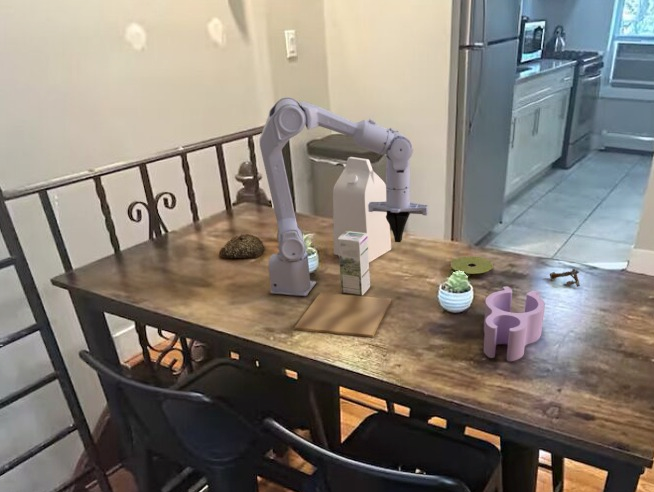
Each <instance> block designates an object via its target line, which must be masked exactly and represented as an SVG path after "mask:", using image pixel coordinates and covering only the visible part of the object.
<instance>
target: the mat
mask: <svg viewBox="0 0 654 492" xmlns="http://www.w3.org/2000/svg"><path fill="white" fill-rule="evenodd" d="M450 268H451V269H453V270H454V271H456V270H460V271H464V272H466V273H465V274H468V275H469V274H471V275H472V274H473V275H475V274H483V273H487V272H489V271H491V270H492V269H493V268H494V264H493V262H492V261H491V260H489V259H487V258H484V257H480V256H462V257H457V258H455V259H453V260H452V261H451V262H450Z"/></svg>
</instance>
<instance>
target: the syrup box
mask: <svg viewBox="0 0 654 492" xmlns="http://www.w3.org/2000/svg"><path fill="white" fill-rule="evenodd" d="M338 250H339V255H338V263H339V264H338V265H339V274H340V275H339V276H340V286H341V287H340V289H341V294H345V295H354V296H364V294H366V293H367V291H368V290H369V289H370V288H371V278H370V277H371V276H370V262H369V253H368V234H367V233H361V232H352V231H346V232H344V233H343V234H342V235H341V236H340V237H339V238H338Z"/></svg>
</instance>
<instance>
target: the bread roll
mask: <svg viewBox="0 0 654 492" xmlns="http://www.w3.org/2000/svg"><path fill="white" fill-rule="evenodd" d="M264 250H265V245H264V242H263V241H262V240H261V239H260V238H259V237H258V236H256V235H254V234H249V233H246V234H244V233H241V234H240V235H239V236H237V235H236V236H233V237H232V238H231V239H230V240H228V241H227V242H226V243H225V244H224V246H221V248H220V250H219V252H218V256H220V258H225V259H249V258H257V257H259V256H261V255H262V254H264Z"/></svg>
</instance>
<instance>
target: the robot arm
mask: <svg viewBox="0 0 654 492" xmlns="http://www.w3.org/2000/svg"><path fill="white" fill-rule="evenodd" d="M305 127H306V129H307V130H308V131H309V130H313V129H315V128H318V127H321V128H323V129H326V130H330V131H333V132H336V133H338V134H342V135H344V136H347V137H351V138H352V139H353V142H354V144H355V146H357V147H360V148H363V149H365V150H368V151H370V152H373V153H375V154H378V155H382V156H383V155H385V184H386V202H370V203H369V204H368V210H369V212H373V211H378V212H387V215H386V219H387V221H388V223H389V225H390V230H391V232H392V235H393V238H394V242H395V243H401V242H402V241H403V236H404V235H403V234H404V231H405V228H406V224H407V221H408V220H409V217H410V215H411V214H412V215H422V216H427V215H428V214H429V205H428V204H420V203H415V202H411V167H410V161H411V160H410V159H411V158H412V157H413V153H414V148H413V146H412V143H411V141H410V139H409V138H407V137H406V136H405V134H403V133H401V132H400V131H398V130H395V129H394V128H393V127H390V128H386V127H384V126H381V125H379V124H377V123H376V121H375V120H374V119H372V118H369V119H368V120H366V119H362V120H360V121H357V122H355V121H353V120H351V119H348V118H346V117H343V116H341V115H340V114H337V113H334V112H332V111H330V110H328V109H326V108H323V107H320V106H319V105H316V104H312V103H309V102H307V101H303V100H299V102H298V100H296V99H295V98H293V97H288V96H287V97H282V98H280V99H278V101H277V102H275V104H274V105H273V106H272V107H271V108H270V110H269V112H268V115H267V118H266V121H265V124H264V126H263V128H262V131H261V134H260V137H259V148H260V153H261V157H262V161H263V166H264V170H265V174H266V175H265V176H266V179H267V183H268V187H269V192H270V197H271V201H272V205H273V211H274V214H275V218H276V219H275V220H276V224H277V228H278V229H277V234H276V237H277V241H278V252H277V253H273V254H271V255H270V257H269V260H268V266H267V267H268V277H269V284H270V294H273V295H275V294H276V295H283V296H284V295H287V296H297V297H307V296H308V294H310V292H311V291H312V289H313V288H314V287H315V286H316V284H317V281H314V280H311V275H310V265H309V255H308V251H307V246H306V243H305V240H304V233H303V230H302V228H301V227H300V226H299V224H298V223H297V219H296V213H295V209H294V205H293V198H292V194H291V189H290V183H289V180H288V175H287V171H286V166H285V159H284V155H283V148H284V147H285V146H286V144H288V143H289V141H290V140H291V139H292V138H294V137H295V136H297V135H299V134H300V133H301V132H302V131H303V130H304V129H305Z"/></svg>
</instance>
